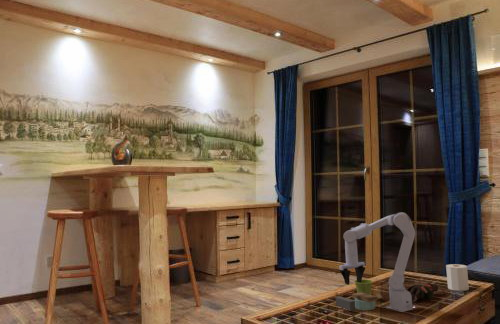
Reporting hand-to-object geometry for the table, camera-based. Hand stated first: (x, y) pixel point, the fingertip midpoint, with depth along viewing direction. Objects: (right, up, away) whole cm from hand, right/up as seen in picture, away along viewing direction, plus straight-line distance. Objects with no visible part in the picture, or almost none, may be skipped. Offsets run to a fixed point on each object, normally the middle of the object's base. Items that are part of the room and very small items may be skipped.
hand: (353, 283), depth 199 cm
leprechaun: (+35, -10, +7) cm, 37 cm away
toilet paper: (+62, -9, +21) cm, 66 cm away
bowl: (+4, -10, -5) cm, 12 cm away
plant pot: (+8, -11, +10) cm, 17 cm away
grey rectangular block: (-5, -10, -6) cm, 13 cm away
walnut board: (+4, -6, -5) cm, 9 cm away
